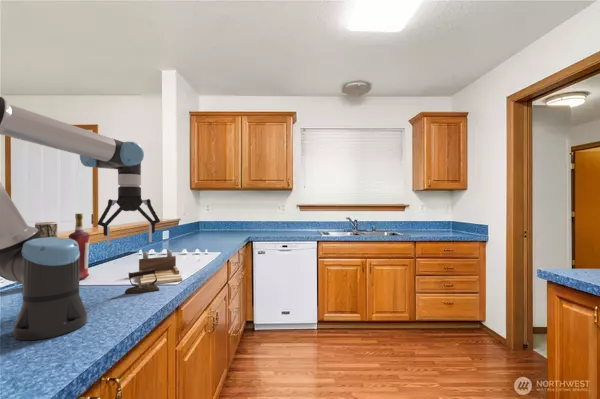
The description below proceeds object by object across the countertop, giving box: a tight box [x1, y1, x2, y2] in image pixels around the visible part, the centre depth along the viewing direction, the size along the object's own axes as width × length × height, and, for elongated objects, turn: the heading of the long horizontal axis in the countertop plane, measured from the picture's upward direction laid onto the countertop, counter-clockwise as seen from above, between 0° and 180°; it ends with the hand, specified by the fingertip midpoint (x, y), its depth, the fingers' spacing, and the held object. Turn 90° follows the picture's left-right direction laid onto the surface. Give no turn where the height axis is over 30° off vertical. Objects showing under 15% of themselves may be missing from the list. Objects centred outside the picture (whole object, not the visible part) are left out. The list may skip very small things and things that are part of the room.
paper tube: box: [34, 221, 58, 238], centre depth 121 cm, size 7×7×25 cm
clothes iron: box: [124, 268, 160, 295], centre depth 113 cm, size 7×11×10 cm, turn 128°
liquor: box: [68, 213, 91, 281], centre depth 131 cm, size 7×7×28 cm
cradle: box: [138, 249, 183, 285], centre depth 133 cm, size 20×15×10 cm
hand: (130, 243), depth 114 cm, fingers open, 13 cm apart
